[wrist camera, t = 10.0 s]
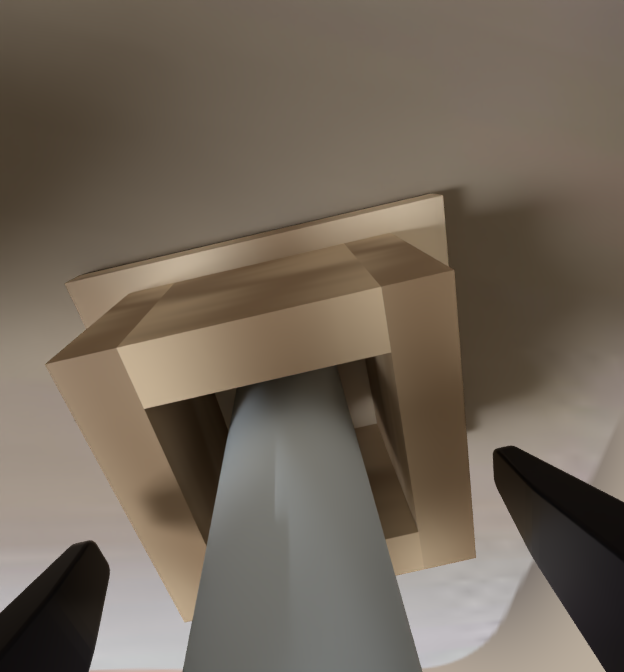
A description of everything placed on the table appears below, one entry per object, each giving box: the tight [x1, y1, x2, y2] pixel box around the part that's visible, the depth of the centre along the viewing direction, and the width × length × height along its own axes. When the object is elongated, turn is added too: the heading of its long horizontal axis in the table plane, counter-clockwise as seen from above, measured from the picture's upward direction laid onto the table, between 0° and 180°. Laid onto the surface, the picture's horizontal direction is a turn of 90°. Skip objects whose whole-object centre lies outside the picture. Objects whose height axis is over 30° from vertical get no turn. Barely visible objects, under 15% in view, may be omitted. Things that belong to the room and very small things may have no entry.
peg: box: [183, 365, 422, 672], centre depth 10 cm, size 4×4×10 cm
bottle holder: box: [45, 193, 476, 622], centre depth 13 cm, size 12×10×6 cm
